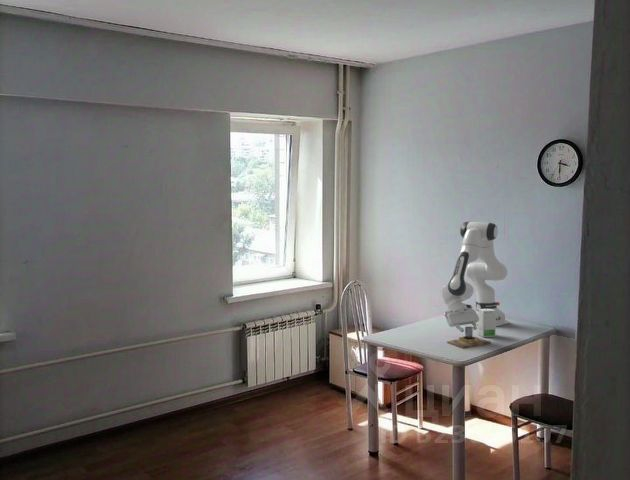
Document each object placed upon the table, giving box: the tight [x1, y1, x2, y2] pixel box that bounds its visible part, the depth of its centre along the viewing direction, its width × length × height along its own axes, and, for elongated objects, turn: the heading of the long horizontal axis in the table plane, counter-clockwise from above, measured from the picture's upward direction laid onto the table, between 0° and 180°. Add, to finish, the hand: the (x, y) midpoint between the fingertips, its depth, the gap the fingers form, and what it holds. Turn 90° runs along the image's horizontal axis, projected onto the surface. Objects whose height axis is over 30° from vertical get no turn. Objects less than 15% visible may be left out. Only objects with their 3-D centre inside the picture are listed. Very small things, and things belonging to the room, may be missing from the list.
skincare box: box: [477, 309, 497, 338], centre depth 347 cm, size 8×7×16 cm
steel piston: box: [464, 326, 474, 340], centre depth 332 cm, size 4×4×8 cm
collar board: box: [446, 336, 491, 349], centre depth 332 cm, size 20×13×3 cm, turn 116°
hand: (469, 330), depth 332 cm, fingers open, 8 cm apart
